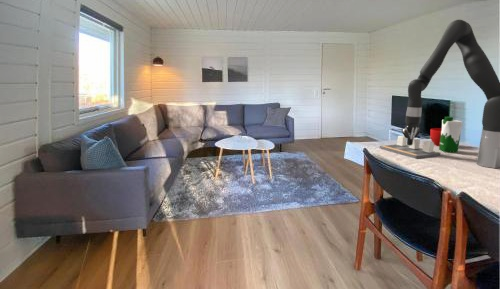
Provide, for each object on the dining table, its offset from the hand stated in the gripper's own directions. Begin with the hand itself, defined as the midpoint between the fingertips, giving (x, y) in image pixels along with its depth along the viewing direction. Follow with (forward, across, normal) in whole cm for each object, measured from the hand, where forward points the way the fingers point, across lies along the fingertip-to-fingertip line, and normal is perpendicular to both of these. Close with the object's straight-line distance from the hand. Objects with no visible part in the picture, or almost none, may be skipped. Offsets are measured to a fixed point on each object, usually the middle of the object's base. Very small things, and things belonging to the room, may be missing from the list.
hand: (409, 145), depth 169 cm
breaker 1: (+2, +4, +9) cm, 10 cm away
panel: (+4, 0, 0) cm, 4 cm away
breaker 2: (+2, +4, -9) cm, 10 cm away
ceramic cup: (+4, +35, +5) cm, 35 cm away
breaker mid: (+2, +4, 0) cm, 5 cm away
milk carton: (+4, +23, -7) cm, 24 cm away
